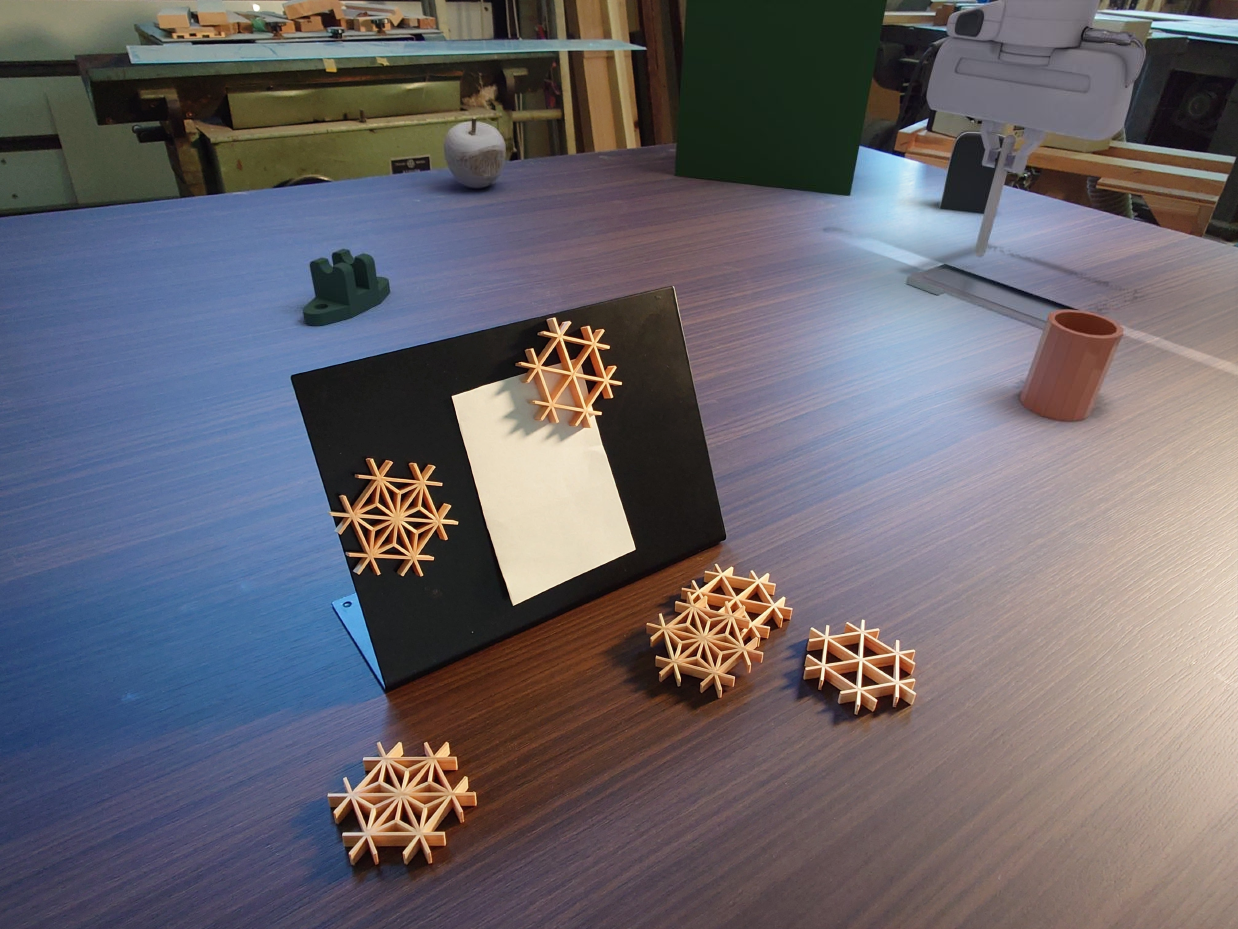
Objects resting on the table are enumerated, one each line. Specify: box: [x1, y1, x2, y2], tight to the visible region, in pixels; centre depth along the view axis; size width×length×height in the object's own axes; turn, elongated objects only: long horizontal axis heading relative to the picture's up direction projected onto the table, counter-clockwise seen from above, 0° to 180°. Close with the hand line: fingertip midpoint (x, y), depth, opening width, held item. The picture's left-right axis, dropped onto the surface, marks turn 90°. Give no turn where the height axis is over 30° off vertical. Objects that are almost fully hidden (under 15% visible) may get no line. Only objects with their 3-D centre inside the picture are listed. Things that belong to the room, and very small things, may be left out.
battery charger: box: [938, 129, 1006, 215], centre depth 110 cm, size 7×4×11 cm, turn 73°
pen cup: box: [1019, 309, 1125, 423], centre depth 66 cm, size 5×5×8 cm
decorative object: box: [443, 116, 507, 189], centre depth 116 cm, size 9×9×10 cm
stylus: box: [973, 134, 1017, 258], centre depth 89 cm, size 1×1×13 cm
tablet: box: [905, 263, 1079, 331], centre depth 90 cm, size 18×16×1 cm
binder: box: [674, 0, 888, 196], centre depth 121 cm, size 27×15×32 cm, turn 74°
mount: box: [302, 248, 391, 327], centre depth 80 cm, size 11×4×5 cm, turn 153°
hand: (1002, 168), depth 87 cm, fingers closed on stylus, 1 cm apart
